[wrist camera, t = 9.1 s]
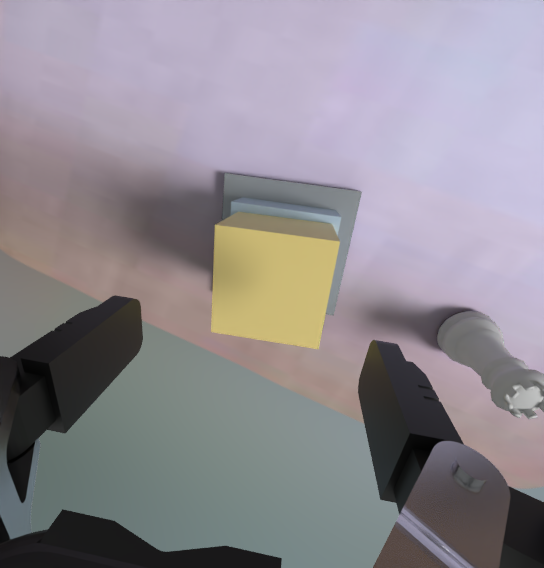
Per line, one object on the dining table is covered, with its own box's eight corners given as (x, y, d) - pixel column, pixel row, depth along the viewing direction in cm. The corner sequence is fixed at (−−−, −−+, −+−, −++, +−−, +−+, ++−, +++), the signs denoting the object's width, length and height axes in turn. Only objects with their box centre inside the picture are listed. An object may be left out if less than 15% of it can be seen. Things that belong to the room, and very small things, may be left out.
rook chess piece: (423, 335, 25) (472, 405, 17) (465, 298, 23) (539, 357, 16) (461, 363, 25) (524, 442, 18) (505, 328, 24) (594, 399, 16)
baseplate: (227, 173, 22) (209, 173, 18) (359, 191, 21) (371, 195, 17) (220, 292, 26) (204, 315, 22) (332, 311, 25) (337, 337, 21)
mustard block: (238, 211, 18) (215, 224, 14) (332, 223, 18) (340, 241, 13) (232, 296, 21) (211, 331, 16) (316, 308, 20) (318, 349, 16)
